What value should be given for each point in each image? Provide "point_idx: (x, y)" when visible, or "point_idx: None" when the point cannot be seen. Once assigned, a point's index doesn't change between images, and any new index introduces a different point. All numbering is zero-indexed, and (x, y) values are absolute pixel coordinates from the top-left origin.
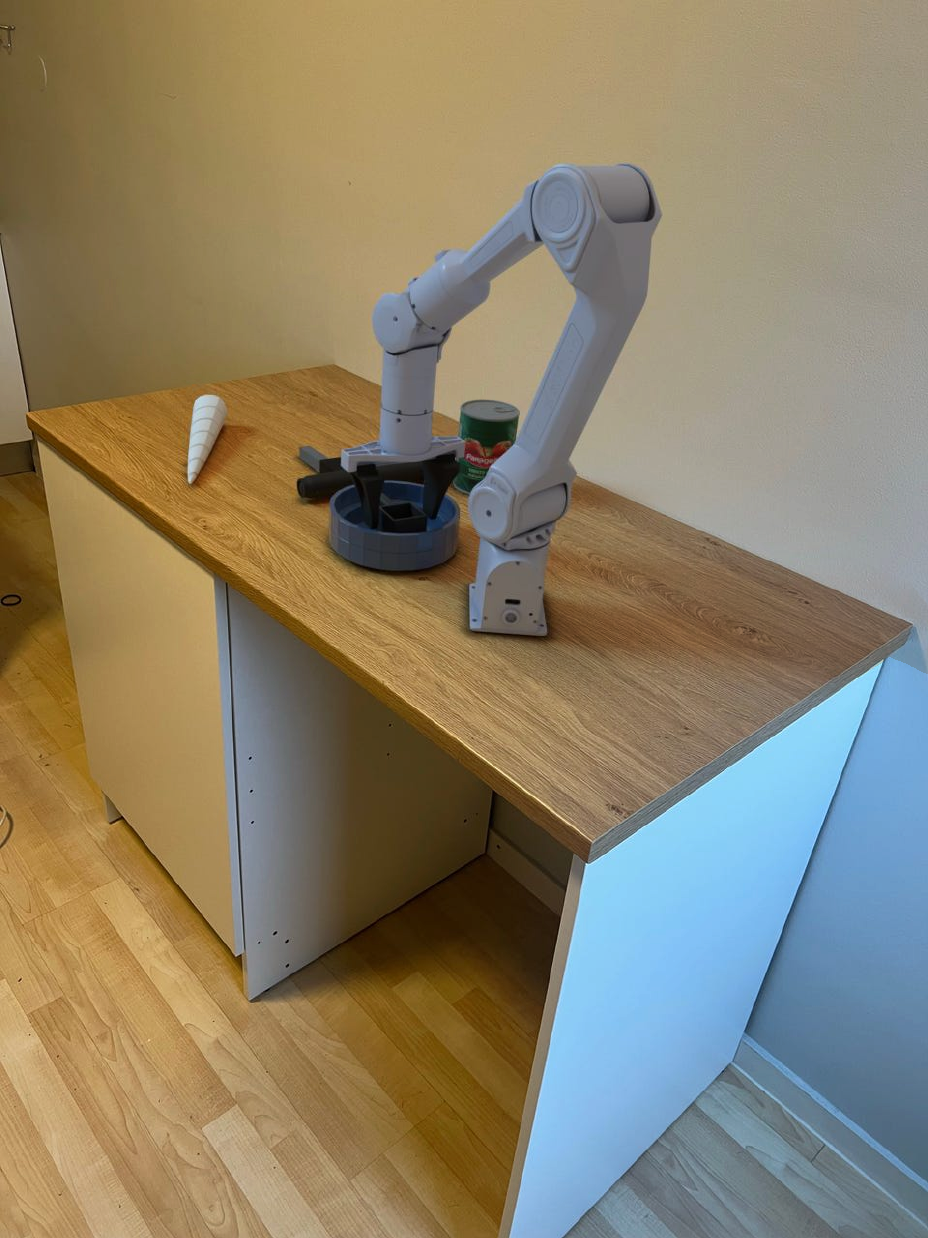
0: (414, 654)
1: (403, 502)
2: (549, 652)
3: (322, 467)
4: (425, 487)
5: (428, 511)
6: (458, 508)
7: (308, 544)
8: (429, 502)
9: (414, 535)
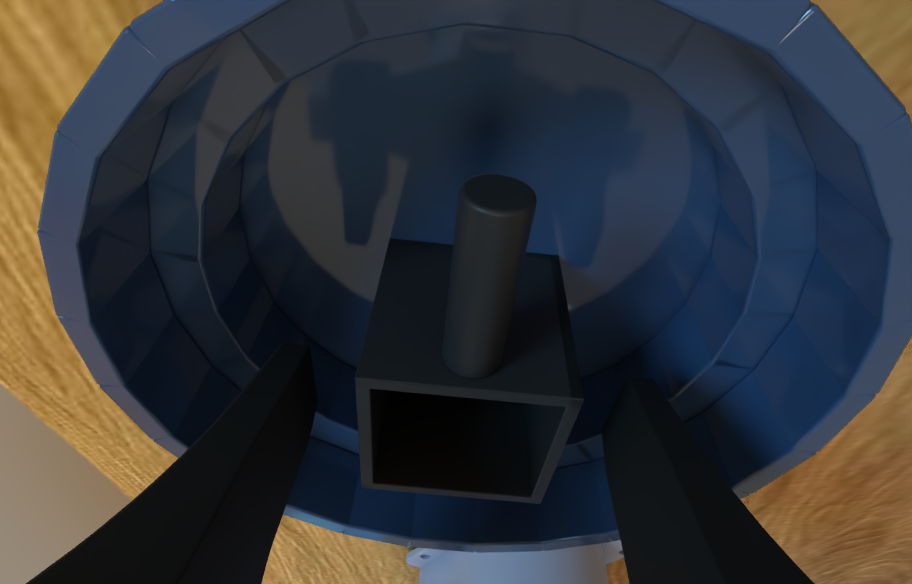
0: (274, 549)
1: (534, 393)
2: None
3: None
4: (680, 508)
5: (617, 434)
6: (741, 493)
7: (73, 68)
8: (631, 479)
9: (394, 543)
